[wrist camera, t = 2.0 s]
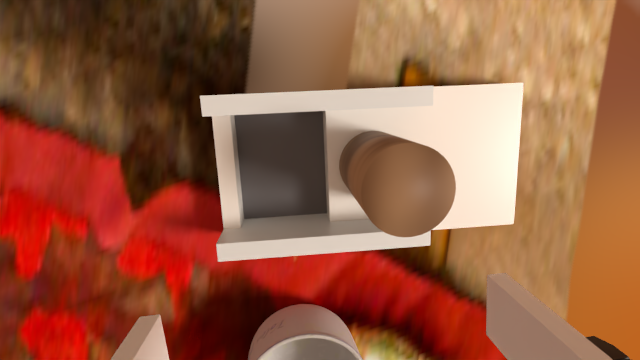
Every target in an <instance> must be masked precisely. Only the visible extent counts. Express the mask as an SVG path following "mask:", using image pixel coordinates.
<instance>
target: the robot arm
mask: <svg viewBox="0 0 640 360" xmlns="http://www.w3.org/2000/svg"><path fill="white" fill-rule="evenodd" d="M486 334H487V336H488V337H489V338H490V339H491V340H492V342H493V343H494V344H495V345H496V346H497V348H498V349H499V350H500V351H501V352H502V354H503V355H504V356H505V357H506V358H507V360H630V359H629V357H628V356H627V355H625V354H624V353H623V352H621V351H620V350H619V349H617V348H616V347H615V346H613V345H611V344H609V343H607V342H605V341H603V340H601V339H599V338H597V337H595V336H591V337H584V336H583V335H582V334H581V333H579V332H578V331H577V330H576V329H574V328H573V327H572V326H571V325H569V324H568V323H567V322H566V321H564V320H563V319H562V318H561V317H559V316H558V315H557V314H556V313H555V312H553V311H552V310H551V309H550V308H548V307H547V306H546V305H545V304H543V303H542V302H541V301H540V300H538V299H537V298H536V297H535V296H533V295H532V294H531V293H530V292H528V291H527V290H526V289H525V288H524V287H522V286H521V285H520V284H519V283H517V282H516V281H515V280H514V279H512V278H511V277H510V276H509V275H507V274H506V273H500V274H491V275H487V325H486ZM111 360H169V356H168V351H167V346H166V341H165V336H164V331H163V326H162V321H161V317H160V315H152V316H143V317H139V319H138V320H137V322H136V323H135V325H134V326H133V328H132V329H131V331H130V332H129V334H128V335H127V336H126V338H125V339H124V341H123V342H122V344H121V345H120V347H119V348H118V350H117V351H116V353H115V354H114V355H113V357H112V358H111Z"/></svg>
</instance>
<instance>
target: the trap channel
mask: <svg viewBox="0 0 640 360" xmlns="http://www.w3.org/2000/svg"><path fill="white" fill-rule="evenodd" d="M523 84H524V83H505V84H482V85H459V86H436V87H433V86H413V87H390V88H367V89H344V90H322V91H299V92H276V93H252V94H229V95H206V96H200V102H201V111H202V117H205V116H212V123H213V133H214V142H215V152H216V161H217V171H218V180H219V190H220V199H221V209H222V219H223V228H224V230H223V232H222V234H221V236H220V238H219V240H218V242H217V244H216V246H217V256H218V262H221V261H234V260H247V259H260V258H273V257H286V256H299V255H312V254H325V253H338V252H351V251H364V250H377V249H390V248H403V247H416V246H429V245H430V235H431V230H430V231H428V232H427V233H424V234H422V235H418V236H414V237H396V236H392V235H390V234H387V233H385V232H383V231H381V230H380V229H379V228H377V227H376V226H375V225H374V224H373V223H372V222H371V220H370V219H369V218H368V216H367V215H366V213H365V212H364V211H363V209H362V208H361V206H360V205H359V203H358V202H357V201H356V199H355V198H354V196H353V195H352V194H351V192H350V191H349V189H348V188H347V186H346V185H345V184H344V182H343V180H342V178H341V175H340V170H339V161H340V157H341V153H342V151H343V149H344V147H345V146H346V145H347V143H348V142H349V141H350V140H351V139H352V138H354V137H355V136H357V135H359V134H361V133H363V132H367V131H381V132H385V133H388V134H391V135H394V136H397V137H400V138H403V139H407V140H410V141H413V142H416V143H419V144H422V145H425V146H428V147H431V148H433V149H435V150H436V151H438V152H439V153H440V154H441V155H443V156H444V157H445V159H446V160H447V161H448V163H449V164H450V166H451V168H452V170H453V173H454V176H455V181H456V193H455V198H454V202H453V205H452V207H451V209H450V211H449V213H448V214H447V216H446V217H445V218H444V219H443V221H442V222H441V223H440V224H439V225H437V226H436V227H435V228H433V229H432V230H438V229H452V228H465V227H479V226H493V225H506V224H514V213H515V199H516V184H517V170H518V156H519V141H520V127H521V113H522V99H523Z"/></svg>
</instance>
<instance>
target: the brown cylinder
mask: <svg viewBox="0 0 640 360" xmlns="http://www.w3.org/2000/svg"><path fill="white" fill-rule="evenodd" d="M339 170H340V175H341V178H342V180H343V182H344V184H345V185H346V186H347V188H348V189H349V191H350V192H351V194H352V195H353V196H354V198H355V199H356V201H357V202H358V203H359V205H360V206H361V208H362V209H363V211H364V212H365V213H366V215H367V216H368V218H369V219H370V220H371V222H372V223H373V224H374V225H375V226H376V227H377V228H379V229H380V230H381V231H383V232H385V233H387V234H390V235H392V236H396V237H414V236H418V235H422V234H424V233H427V232H428V231H430V230H432V229H433V228H435V227H436V226H437V225H439V224H440V223H441V222H442V221H443V219H444V218H445V217H446V216H447V214H448V213H449V211H450V209H451V207H452V205H453V202H454V198H455V193H456V181H455V176H454V173H453V170H452V168H451V166H450V164H449V163H448V161H447V160H446V159H445V157H444V156H443V155H441V154H440V153H439V152H438V151H436V150H435V149H433V148H431V147H428V146H425V145H422V144H419V143H416V142H413V141H410V140H407V139H403V138H400V137H397V136H394V135H391V134H388V133H385V132H381V131H367V132H363V133H361V134H359V135H357V136H355V137H354V138H352V139H351V140H350V141H349V142H348V143H347V145H346V146H345V147H344V149H343V151H342V153H341V157H340V161H339Z"/></svg>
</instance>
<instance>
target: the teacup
mask: <svg viewBox="0 0 640 360" xmlns="http://www.w3.org/2000/svg"><path fill="white" fill-rule="evenodd" d="M248 360H363V359H362V358H361V356H360V354H359V351H358V349H357V346H356V344H355V342H354V340H353V337H352V335H351V333H350V331H349V330H348V328H347V326H346V325H345V324H344V322H343V321H342V320H341V319H340V318H339V317H338V316H337V315H336V314H334V313H333V312H331V311H330V310H328V309H326V308H323V307H321V306H317V305H313V304H297V305H292V306H288V307H285V308H283V309H281V310H279V311H277V312H275V313H274V314H272V315H271V316H270V317H268V318H267V319H266V320H265V321H264V322H263V323H262V325H261V326H260V327H259V329H258V330H257V332H256V334H255V336H254V338H253V341H252V343H251V347H250V350H249V355H248Z"/></svg>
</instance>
